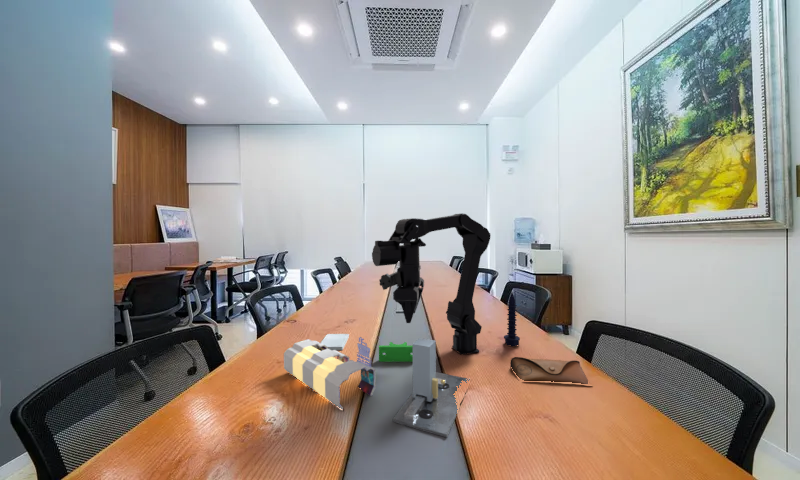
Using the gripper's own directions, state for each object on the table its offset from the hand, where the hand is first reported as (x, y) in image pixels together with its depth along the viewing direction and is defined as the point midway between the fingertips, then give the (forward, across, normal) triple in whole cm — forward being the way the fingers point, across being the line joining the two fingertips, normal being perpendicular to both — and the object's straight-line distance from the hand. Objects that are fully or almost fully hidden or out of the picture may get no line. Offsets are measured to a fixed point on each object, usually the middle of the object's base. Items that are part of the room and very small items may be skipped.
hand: (410, 317), depth 83 cm
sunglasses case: (+15, +2, +36) cm, 39 cm away
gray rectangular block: (+12, +17, +6) cm, 22 cm away
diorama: (+13, +14, -20) cm, 28 cm away
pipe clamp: (+14, -2, -4) cm, 14 cm away
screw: (+14, -19, +31) cm, 39 cm away
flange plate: (+13, +17, +8) cm, 23 cm away
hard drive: (+14, -11, -28) cm, 33 cm away
